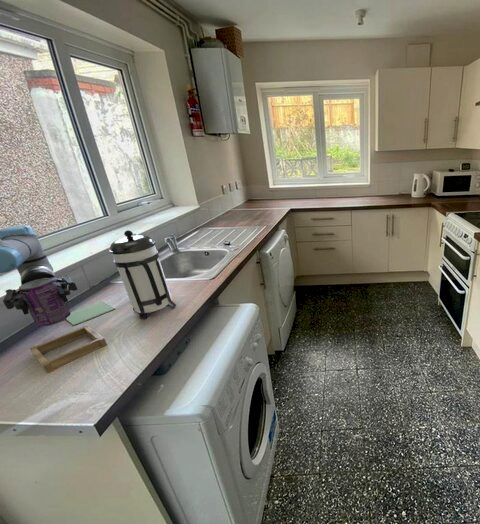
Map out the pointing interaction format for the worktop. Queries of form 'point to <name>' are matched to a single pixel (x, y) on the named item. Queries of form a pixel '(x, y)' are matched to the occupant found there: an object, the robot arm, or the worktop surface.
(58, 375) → the worktop surface
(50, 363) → the shallow wooden tray
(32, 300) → the beverage can
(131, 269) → the coffee press
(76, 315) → the mat
